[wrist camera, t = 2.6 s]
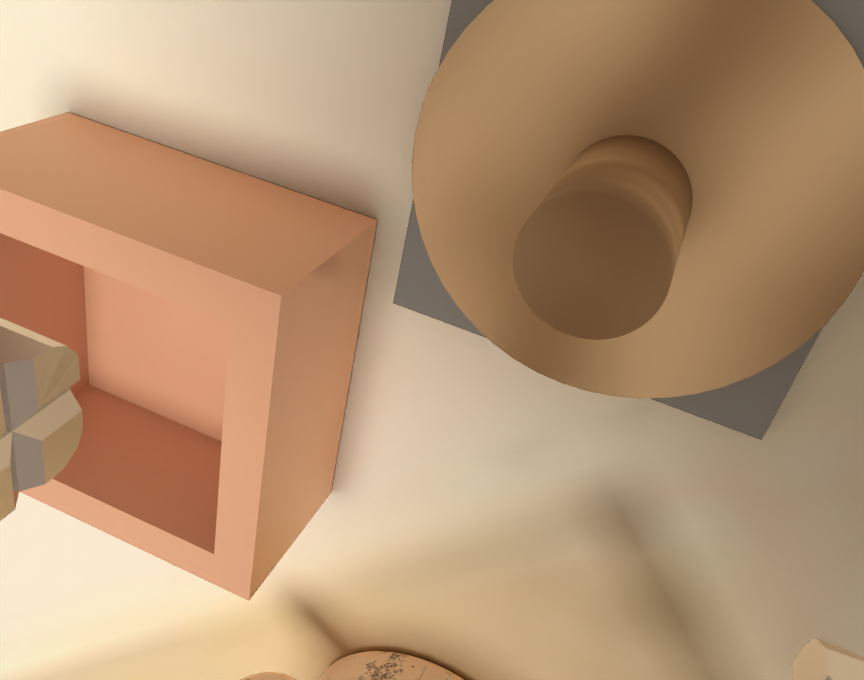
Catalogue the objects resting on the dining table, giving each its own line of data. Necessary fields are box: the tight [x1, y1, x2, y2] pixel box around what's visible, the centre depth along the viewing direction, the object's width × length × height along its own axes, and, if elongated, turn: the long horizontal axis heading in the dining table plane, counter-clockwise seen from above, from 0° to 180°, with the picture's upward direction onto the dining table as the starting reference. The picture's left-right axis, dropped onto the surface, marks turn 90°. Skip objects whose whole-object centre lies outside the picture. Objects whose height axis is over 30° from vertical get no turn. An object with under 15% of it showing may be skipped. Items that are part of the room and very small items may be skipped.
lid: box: [412, 0, 864, 398], centre depth 16 cm, size 10×10×5 cm
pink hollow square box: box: [0, 112, 377, 600], centre depth 23 cm, size 10×10×5 cm
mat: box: [393, 0, 864, 440], centre depth 18 cm, size 10×10×1 cm
